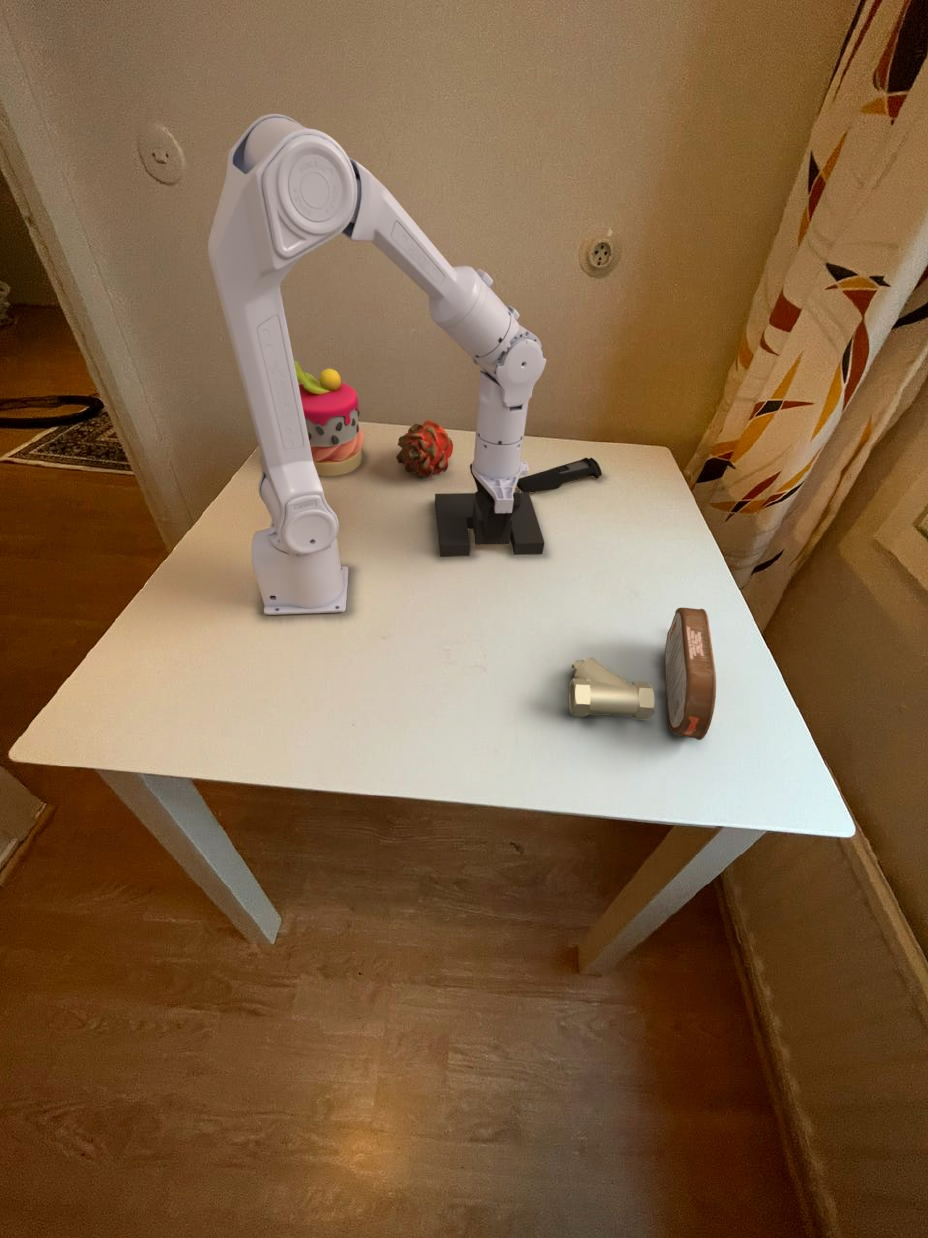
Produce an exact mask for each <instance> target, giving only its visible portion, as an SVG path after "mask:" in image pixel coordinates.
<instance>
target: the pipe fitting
mask: <svg viewBox="0 0 928 1238" xmlns="http://www.w3.org/2000/svg"><path fill="white" fill-rule="evenodd" d="M571 669H572V674H573V678H572V679H571V680H570V682H569V685H568V694H567V707H568V711H569V713H570V715H571V716H572V717H584V718H586V717H587V716H588V715H599V716H600V715H602V716H616V717H617V716H618V717H632V718H633V719H635V720H641V721H649V720H650V719H651V718H652V716H653V714H654V712H655V711H654V710H655V703H656V701H655V692H654V688H653V686H652V685H651V684H650V683H648V682H643V681H633V682H632V683H630V682H628V681H627V680H625V679H624V678H623V677H621V676H620V675H618V674H617V673H615V672H614V671H613V670H611V669H610V668H608V667H607V666H605V665H603V664H602V663H601V662H599V661H598V660H596V659H594V658H593V657H588V658H586V659H585V660H584V659H580V660H575V661H573V663H572V664H571Z"/></svg>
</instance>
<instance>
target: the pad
mask: <svg viewBox="0 0 928 1238" xmlns="http://www.w3.org/2000/svg"><path fill="white" fill-rule="evenodd" d="M472 527H473V529H472V531H473V538H474V544H475V546H495V545H496V546H497V545H510V543H511V541H510V535H511V528H512V517H511V518H510V520H509V522H508V524H507V526H506V528H505V531H504V533H503V535H502V537H501V539H495V540H486V538H485V534H484V529H483V517H482V513H481V511H480V509H479V507H478V505H477V502H476V501H474V505H473V519H472Z"/></svg>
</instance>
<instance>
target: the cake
mask: <svg viewBox="0 0 928 1238" xmlns="http://www.w3.org/2000/svg"><path fill="white" fill-rule="evenodd" d="M294 365H295V370H296V375H297V380H298V385H299V391H300V396H301V401H302V406H303V411H304V417H305V422H306V427H307V432H308V438H309V443H310V448H311V453H312V458H313V462H314V465H315V468H316V471H317V474H318V477H336V476H337V477H338V476H342V475H346V474H349V473H352V472H353V471H355V470H356V469H358V468H359V466H361V464H362V460H363V456H362V447H363V444H364V440H365V437H364V434H363V431H362V430H361V428H360V424H359V417H360V414H361V413H360V412H361V411H360V410H359V399H358V394H357V392H356V390H355V389H354V388H353V387H352V386H351V385H349V384H347V383H345V382H342V378H341V376H340V375H341V374H339V372H338V371H336V370H335V369H333V368H326V369H324V370H322V371H321V373H319V378H318V379H316V378H315V377H314V376H313V375H312V374H310V373H308V372H304V371H303V369H302V368H301V366H300V364H299V362H298V361H297V360H294Z"/></svg>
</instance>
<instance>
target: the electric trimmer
mask: <svg viewBox="0 0 928 1238" xmlns="http://www.w3.org/2000/svg"><path fill="white" fill-rule="evenodd" d="M602 476H603V472H602V469H601V466H600V464H599V463H598V461H597V460H596V459H594V458H593V457H589V458H588V457H583V458H582V459H579V460H575V461H573V462H569V463H565V464H562V465H559V466H555V467H551V468H549V469H547V470H543V471H539V472H536V473H533V474H530V475H526V476H523V477H519V480H518V482H517V485H516V488H517V489H519V490H520V492H529V494H532V493H539V492H545V491H551V490H556V489H557V490H558V489H559V488H560V487H561V486H562V485H564V484H568V483H572V482H576V481H580V480H583V479H588V478H591V477H593V478H595V479H596V480H597V479H599V478H600V477H602Z"/></svg>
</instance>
